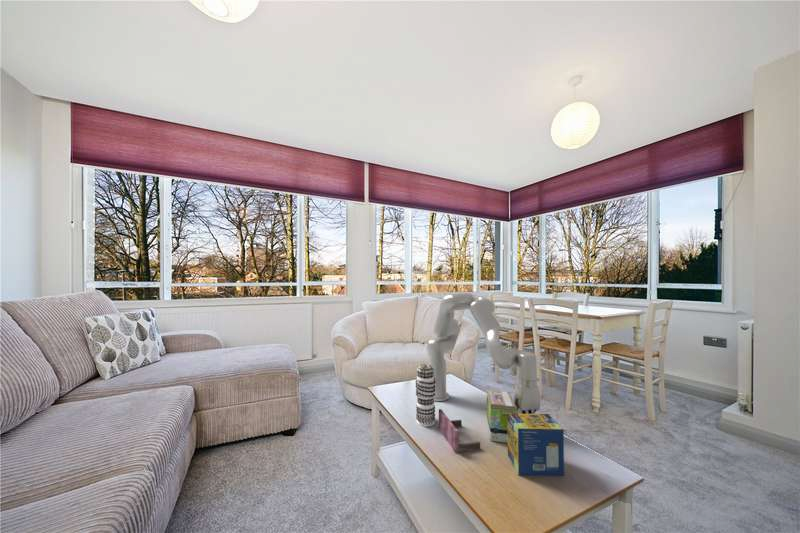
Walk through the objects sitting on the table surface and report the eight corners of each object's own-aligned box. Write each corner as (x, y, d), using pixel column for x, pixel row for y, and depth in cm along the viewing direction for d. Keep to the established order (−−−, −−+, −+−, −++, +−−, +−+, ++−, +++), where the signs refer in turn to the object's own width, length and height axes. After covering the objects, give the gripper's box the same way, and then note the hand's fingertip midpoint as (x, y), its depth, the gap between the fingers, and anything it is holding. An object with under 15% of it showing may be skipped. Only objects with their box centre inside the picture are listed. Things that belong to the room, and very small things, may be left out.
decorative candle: (440, 423, 129) (439, 366, 130) (423, 429, 124) (423, 370, 125) (428, 414, 137) (427, 361, 138) (411, 419, 132) (411, 364, 133)
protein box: (507, 456, 106) (506, 413, 106) (549, 456, 105) (549, 413, 106) (517, 476, 95) (517, 428, 96) (565, 476, 95) (564, 428, 95)
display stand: (438, 428, 125) (438, 409, 125) (460, 425, 127) (460, 406, 127) (455, 453, 107) (454, 431, 108) (480, 449, 110) (480, 428, 110)
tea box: (516, 444, 113) (516, 406, 113) (490, 441, 115) (489, 403, 115) (510, 424, 128) (509, 390, 128) (486, 422, 130) (486, 389, 130)
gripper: (536, 377, 130) (537, 418, 129) (506, 380, 127) (507, 422, 126) (548, 383, 122) (549, 427, 122) (517, 386, 119) (517, 431, 119)
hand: (528, 424), depth 124 cm, fingers closed
